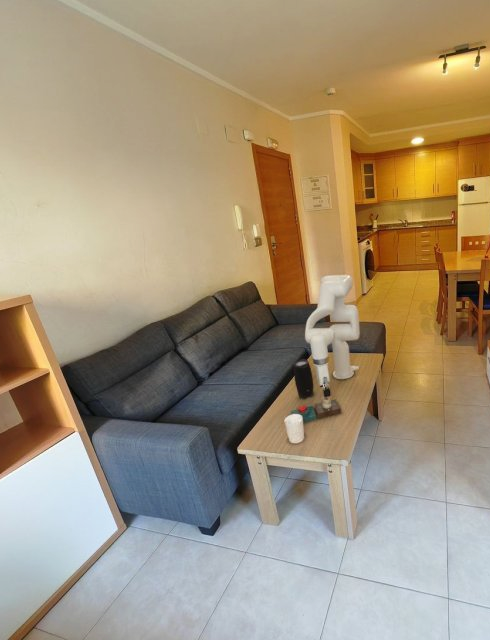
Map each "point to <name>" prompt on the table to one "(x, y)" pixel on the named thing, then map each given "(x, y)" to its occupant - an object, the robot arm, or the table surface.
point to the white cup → (294, 428)
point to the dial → (326, 402)
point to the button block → (306, 414)
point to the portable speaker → (303, 378)
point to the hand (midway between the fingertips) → (325, 391)
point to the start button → (302, 409)
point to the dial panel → (327, 409)
